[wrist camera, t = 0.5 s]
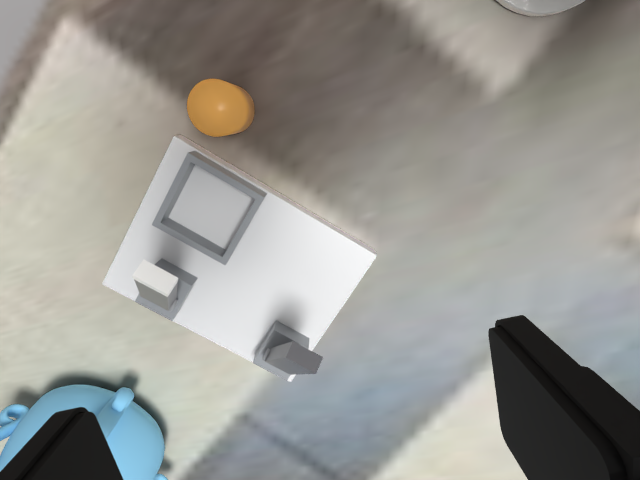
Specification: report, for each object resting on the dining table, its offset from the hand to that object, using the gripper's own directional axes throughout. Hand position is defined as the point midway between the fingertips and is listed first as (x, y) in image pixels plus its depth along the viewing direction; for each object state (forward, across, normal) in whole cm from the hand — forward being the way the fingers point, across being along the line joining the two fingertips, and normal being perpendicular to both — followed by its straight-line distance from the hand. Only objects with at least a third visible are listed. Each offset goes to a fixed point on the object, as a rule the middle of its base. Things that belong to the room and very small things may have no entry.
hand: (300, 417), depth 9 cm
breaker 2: (+28, +7, +15) cm, 32 cm away
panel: (+33, +9, +5) cm, 34 cm away
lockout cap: (+32, +6, -10) cm, 34 cm away
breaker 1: (+28, +16, +6) cm, 32 cm away
